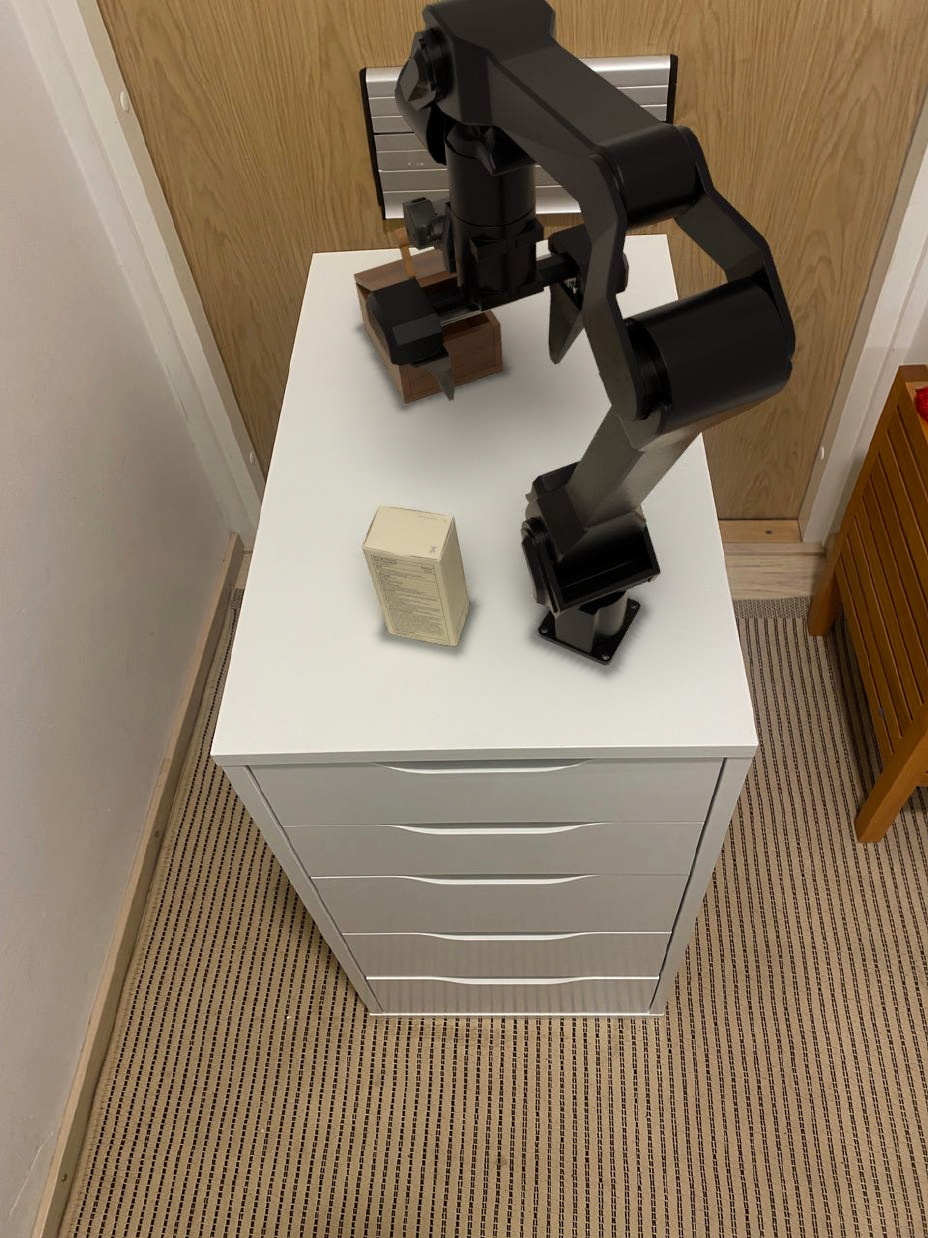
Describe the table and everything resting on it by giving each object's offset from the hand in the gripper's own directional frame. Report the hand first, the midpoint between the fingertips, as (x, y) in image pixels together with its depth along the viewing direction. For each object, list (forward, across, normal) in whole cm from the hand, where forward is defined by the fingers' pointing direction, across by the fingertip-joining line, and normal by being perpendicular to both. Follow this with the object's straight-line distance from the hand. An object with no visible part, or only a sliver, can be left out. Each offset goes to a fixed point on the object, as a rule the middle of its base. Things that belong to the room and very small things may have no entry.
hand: (502, 378), depth 76 cm
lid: (+4, 0, -21) cm, 21 cm away
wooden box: (+13, 0, -21) cm, 24 cm away
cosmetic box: (+13, +12, +11) cm, 21 cm away
